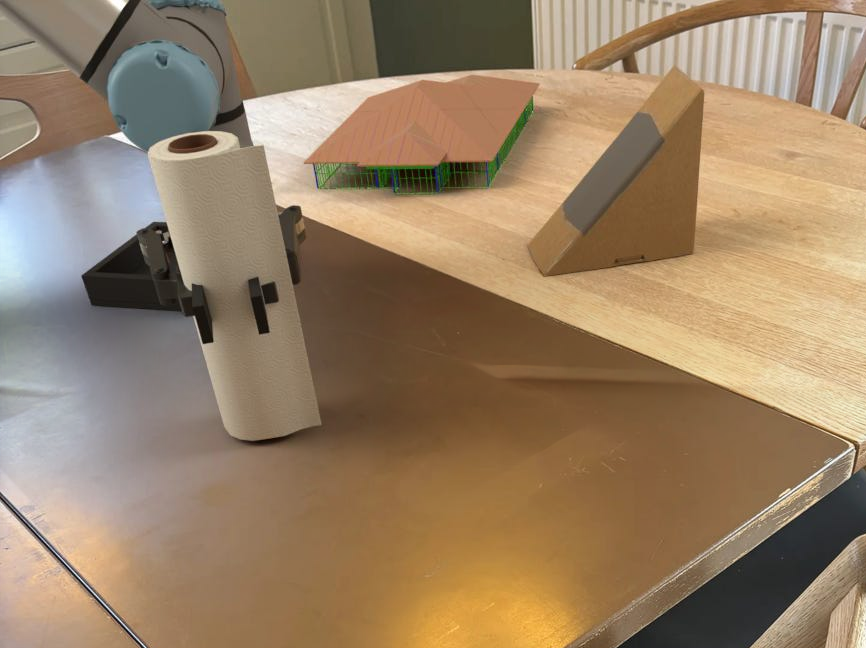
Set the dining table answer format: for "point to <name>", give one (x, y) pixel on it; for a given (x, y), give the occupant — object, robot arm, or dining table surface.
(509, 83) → the house
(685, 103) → the sandwich container
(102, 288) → the roll dock
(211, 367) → the paper towel roll
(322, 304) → the dining table surface
